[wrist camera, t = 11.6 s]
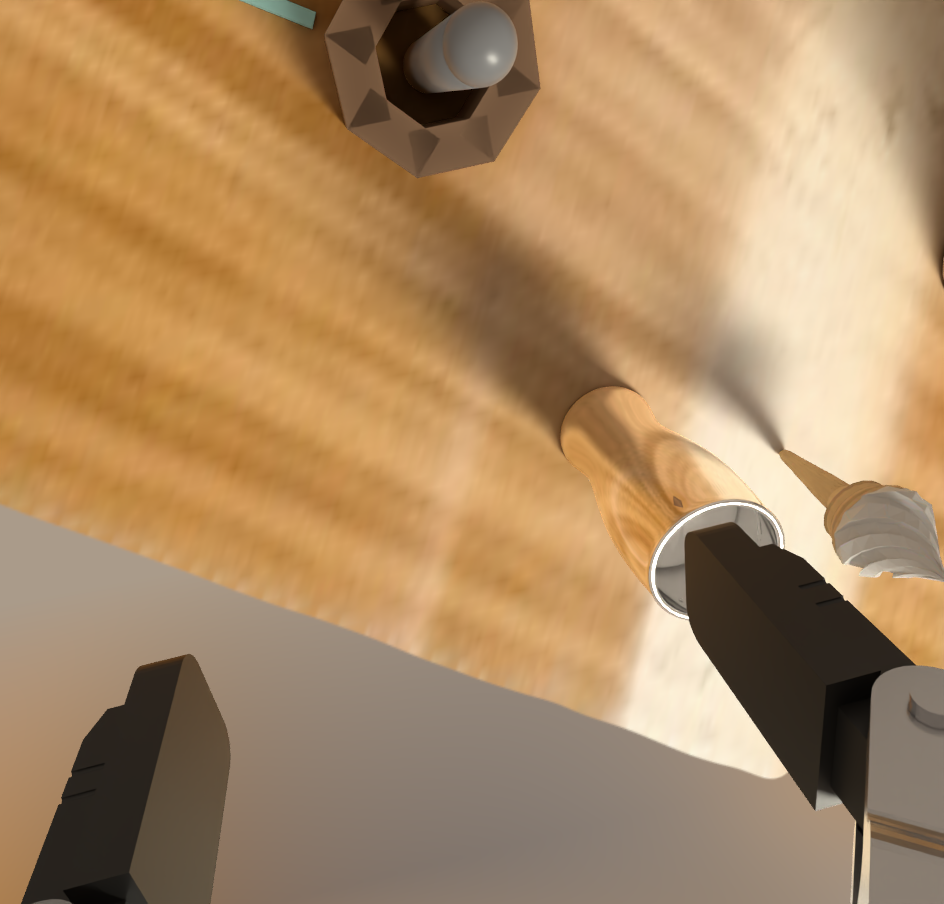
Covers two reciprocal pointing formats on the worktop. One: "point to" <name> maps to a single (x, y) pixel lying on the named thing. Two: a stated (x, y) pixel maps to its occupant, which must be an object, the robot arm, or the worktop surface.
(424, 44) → the grey rounded rod
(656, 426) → the beer glass
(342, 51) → the bead
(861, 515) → the ice cream cone
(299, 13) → the teal thin bar
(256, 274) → the worktop surface
